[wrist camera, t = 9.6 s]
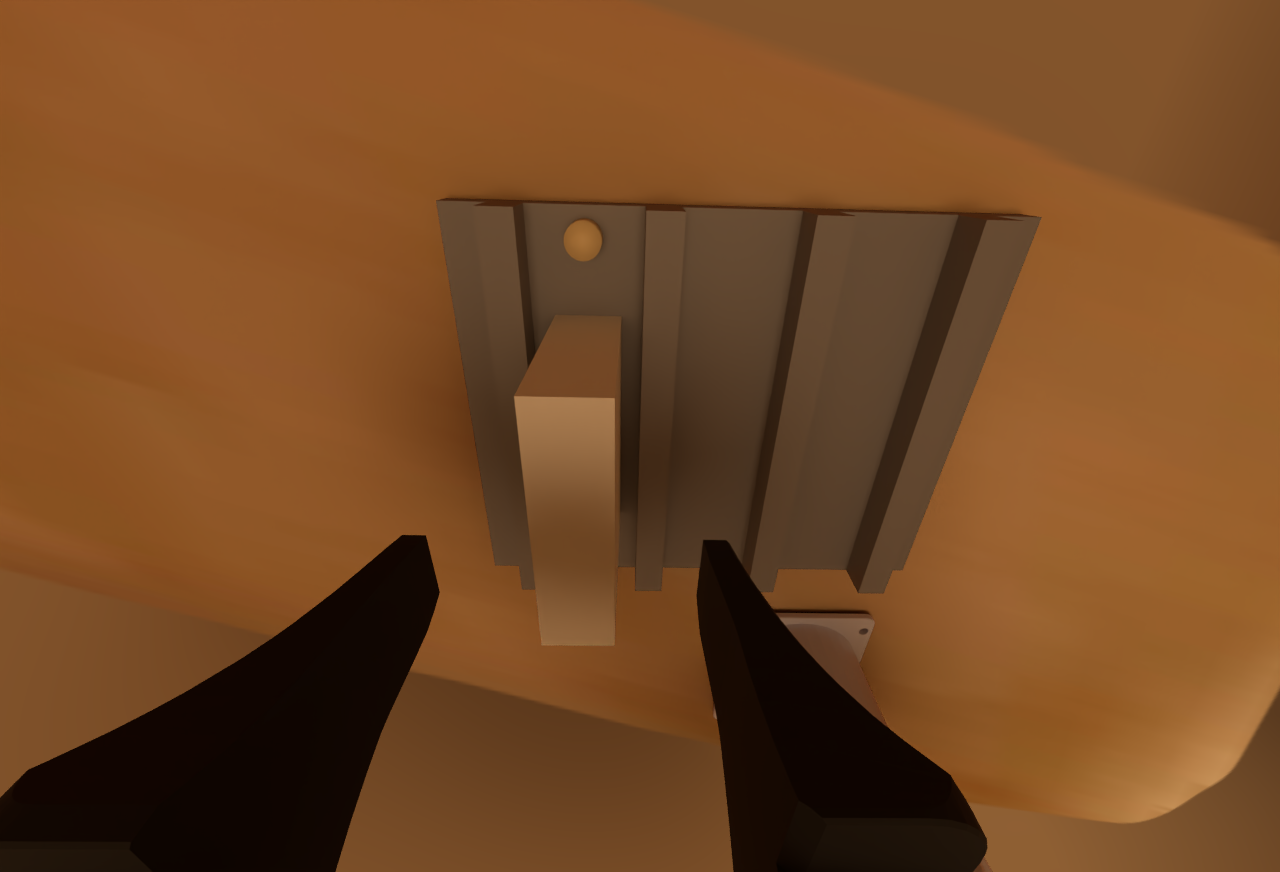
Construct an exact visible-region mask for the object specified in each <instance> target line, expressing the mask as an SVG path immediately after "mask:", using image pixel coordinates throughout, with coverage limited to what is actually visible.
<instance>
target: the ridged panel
mask: <svg viewBox="0 0 1280 872" xmlns="http://www.w3.org/2000/svg"><path fill="white" fill-rule="evenodd" d="M436 203H437V209H438V215H439V221H440V228H441V234H442V240H443V246H444V252H445V258H446V265H447V271H448V277H449V283H450V289H451V296H452V302H453V308H454V314H455V320H456V326H457V333H458V339H459V345H460V351H461V357H462V363H463V370H464V376H465V382H466V388H467V394H468V401H469V407H470V413H471V419H472V425H473V431H474V438H475V444H476V450H477V456H478V462H479V468H480V475H481V481H482V487H483V493H484V499H485V505H486V512H487V518H488V524H489V530H490V536H491V543H492V549H493V555H494V561H495V565H510V566H519V569H520V577H521V585H522V589H535V581H534V572H533V563H532V554H531V545H530V536H529V527H528V518H527V509H526V500H525V491H524V482H523V473H522V464H521V455H520V446H519V437H518V428H517V419H516V410H515V401H514V395H515V393H516V391H517V389H518V387H519V385H520V383H521V382H522V380H523V378H524V376H525V374H526V372H527V370H528V368H529V366H530V364H531V362H532V360H533V358H534V356H535V354H536V352H537V350H538V348H539V346H540V344H541V342H542V340H543V338H544V336H545V334H546V332H547V330H548V328H549V327H550V325H551V323H552V321H553V319H554V317H555V315H584V316H622V330H621V467H620V529H619V553H618V567H635V591H661V586H662V571H663V567H673V568H700V562H701V554H702V545H703V540H727V541H728V542H729V543H730V545H731V546H732V548H733V550H734V552H735V553H736V555H737V557H738V559H739V560H740V562H741V564H742V565H743V567H744V568H745V570H746V571H747V573H748V575H749V576H750V578H751V579H752V581H753V582H754V584H755V585H756V587H757V588H758V589H759V591H760V592H773V590H774V586H775V581H776V577H777V572H778V569H835V570H847V572H848V574H849V576H850V578H851V580H852V582H853V584H854V586H855V588H856V590H857V592H858V593H884V591H885V589H886V586H887V584H888V581H889V578H890V576H891V573H892V570H903V567H904V565H905V562H906V560H907V557H908V555H909V552H910V550H911V547H912V545H913V542H914V540H915V537H916V534H917V532H918V529H919V527H920V524H921V522H922V519H923V517H924V514H925V512H926V509H927V507H928V504H929V502H930V499H931V496H932V494H933V491H934V489H935V486H936V484H937V481H938V479H939V476H940V474H941V471H942V469H943V466H944V463H945V461H946V458H947V456H948V453H949V451H950V448H951V446H952V443H953V441H954V438H955V436H956V433H957V431H958V428H959V425H960V423H961V420H962V418H963V415H964V413H965V410H966V408H967V405H968V403H969V400H970V398H971V395H972V393H973V390H974V387H975V385H976V382H977V380H978V377H979V375H980V372H981V370H982V367H983V365H984V362H985V360H986V357H987V354H988V352H989V349H990V347H991V344H992V342H993V339H994V337H995V334H996V332H997V329H998V327H999V324H1000V322H1001V319H1002V316H1003V314H1004V311H1005V309H1006V306H1007V304H1008V301H1009V299H1010V296H1011V294H1012V291H1013V289H1014V286H1015V284H1016V281H1017V278H1018V276H1019V273H1020V271H1021V268H1022V266H1023V263H1024V261H1025V258H1026V256H1027V253H1028V251H1029V248H1030V245H1031V243H1032V240H1033V238H1034V235H1035V233H1036V230H1037V228H1038V225H1039V223H1040V220H1041V218H1042V217H1036V216H1029V215H1022V214H991V213H955V212H919V211H883V210H847V209H811V208H775V207H739V206H704V205H668V204H632V203H596V202H560V201H524V200H488V199H452V198H446V199H441V200H436Z"/></svg>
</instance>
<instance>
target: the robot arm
mask: <svg viewBox="0 0 1280 872" xmlns="http://www.w3.org/2000/svg"><path fill="white" fill-rule="evenodd" d="M439 593H440V592H439V587H438V583H437V579H436V575H435V571H434V567H433V563H432V559H431V555H430V551H429V546H428V542H427V538H426V536H425V535H402V536H401V537H399V538H398V539H397V540H396V541H394V542H393V543H392V544H391V545H390V546H388V547H387V548H386V549H385V550H384V551H382V552H381V553H380V554H379V555H378V556H377V557H375V558H374V559H373V560H372V561H371V562H370V563H368V564H367V565H366V566H365V567H364V568H362V569H361V570H360V571H359V572H358V573H356V574H355V575H354V576H353V577H352V578H350V579H349V580H348V581H347V582H346V583H344V584H343V585H342V586H341V587H340V588H338V589H337V590H336V591H335V592H333V593H332V594H331V595H330V596H328V597H327V598H326V599H324V600H323V601H322V602H320V603H319V604H318V605H317V606H315V607H314V608H313V609H311V610H310V611H309V612H307V613H306V614H305V615H303V616H302V617H301V618H300V619H298V620H297V621H296V622H294V623H293V624H292V625H290V626H289V627H287V628H286V629H285V630H283V631H282V632H280V633H279V634H278V635H276V636H275V637H273V638H272V639H270V640H269V641H267V642H266V643H264V644H263V645H261V646H260V647H258V648H257V649H255V650H254V651H252V652H251V653H249V654H248V655H246V656H245V657H243V658H242V659H240V660H238V661H237V662H235V663H234V664H232V665H230V666H228V667H227V668H225V669H223V670H222V671H220V672H219V673H217V674H215V675H213V676H212V677H210V678H208V679H207V680H205V681H203V682H202V683H200V684H198V685H197V686H195V687H193V688H192V689H190V690H188V691H186V692H185V693H183V694H181V695H179V696H177V697H176V698H174V699H172V700H170V701H168V702H167V703H165V704H163V705H161V706H159V707H157V708H155V709H153V710H152V711H150V712H148V713H146V714H144V715H142V716H140V717H138V718H136V719H134V720H132V721H130V722H128V723H126V724H125V725H122V726H120V727H119V728H117V729H115V730H113V731H111V732H108V733H106V734H105V735H102V736H100V737H98V738H96V739H94V740H92V741H89V742H87V743H85V744H83V745H81V746H79V747H77V748H75V749H73V750H70V751H68V752H66V753H64V754H62V755H60V756H57V757H55V758H53V759H51V760H49V761H47V762H45V763H42V764H40V765H38V766H36V767H34V768H31V769H29V770H28V771H26V772H25V774H23V776H21V778H20V779H19V780H17V781H16V782H15V783H14V784H13V785H12V787H10V788H9V790H7V791H6V792H5V793H4V795H3V796H1V798H0V872H335V871H336V868H337V864H338V861H339V858H340V855H341V851H342V848H343V845H344V841H345V838H346V835H347V832H348V828H349V825H350V822H351V819H352V816H353V813H354V810H355V807H356V804H357V800H358V798H359V795H360V792H361V789H362V786H363V783H364V780H365V777H366V773H367V771H368V768H369V765H370V762H371V760H372V757H373V754H374V751H375V748H376V745H377V743H378V740H379V737H380V734H381V732H382V730H383V727H384V725H385V723H386V720H387V718H388V715H389V713H390V711H391V709H392V707H393V705H394V703H395V700H396V698H397V696H398V694H399V692H400V689H401V687H402V685H403V683H404V681H405V679H406V677H407V675H408V672H409V670H410V668H411V666H412V664H413V662H414V660H415V657H416V655H417V653H418V651H419V649H420V646H421V644H422V642H423V640H424V638H425V635H426V633H427V631H428V628H429V625H430V622H431V619H432V616H433V613H434V610H435V606H436V603H437V600H438V596H439ZM697 606H698V618H699V629H700V636H701V641H702V646H703V651H704V656H705V661H706V666H707V671H708V676H709V681H710V686H711V691H712V696H713V701H714V706H713V716H714V718H715V719H717V721H718V728H719V734H720V741H721V750H722V759H723V768H724V777H725V786H726V797H727V806H728V816H729V826H730V836H731V848H732V859H733V870H734V872H992V870H991V868H990V867H989V865H988V863H987V861H986V860H985V858H984V856H985V854H986V850H987V838H986V837H985V835H984V833H983V831H982V829H981V827H980V825H979V823H978V821H977V819H976V817H975V815H974V813H973V811H972V810H971V808H970V806H969V804H968V803H967V801H966V799H965V798H964V796H963V795H962V793H961V791H960V790H959V788H958V787H957V785H956V784H955V782H954V780H953V779H952V777H951V775H950V774H948V773H947V772H946V771H944V770H943V769H942V768H940V767H939V766H938V765H936V764H935V763H933V762H932V761H931V760H929V759H928V758H927V757H925V756H924V755H923V754H921V753H920V752H919V751H917V750H916V749H915V748H913V747H912V746H911V745H909V744H908V743H906V742H905V741H904V740H903V739H901V738H900V737H899V736H897V735H896V734H895V733H894V732H893V731H891V730H890V729H889V728H888V727H887V725H886V723H885V720H884V718H883V716H882V714H881V711H880V709H879V707H878V705H877V702H876V700H875V698H874V696H873V693H872V691H871V689H870V687H869V684H868V682H867V680H866V678H865V675H864V673H863V671H862V669H861V666H860V661H861V659H862V656H863V654H864V651H865V648H866V646H867V643H868V641H869V638H870V635H871V633H872V630H873V628H874V625H875V622H874V620H873V618H872V616H871V615H869V614H838V613H775V612H774V610H773V609H772V608H771V606H770V605H769V603H768V602H767V601H766V599H765V598H764V596H763V595H762V594H761V592H760V591H759V589H758V588H757V587H756V585H755V584H754V582H753V581H752V579H751V578H750V576H749V575H748V573H747V571H746V570H745V568H744V567H743V565H742V564H741V562H740V560H739V559H738V557H737V555H736V553H735V552H734V550H733V548H732V546H731V545H730V543H729V542H728V541H727V540H703V545H702V554H701V562H700V571H699V579H698V588H697Z"/></svg>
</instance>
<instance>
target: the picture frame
mask: <svg viewBox="0 0 1280 872" xmlns="http://www.w3.org/2000/svg"><path fill="white" fill-rule="evenodd" d="M621 330H622V316H584V315H555V317H554V319H553V321H552V323H551V325H550V327H549V328H548V330H547V332H546V334H545V336H544V338H543V340H542V342H541V344H540V346H539V348H538V350H537V352H536V354H535V356H534V358H533V360H532V362H531V364H530V366H529V368H528V370H527V372H526V374H525V376H524V378H523V380H522V382H521V383H520V385H519V387H518V389H517V391H516V393H515V395H514V401H515V410H516V419H517V428H518V437H519V446H520V455H521V464H522V473H523V482H524V491H525V500H526V509H527V518H528V527H529V536H530V545H531V554H532V563H533V572H534V581H535V590H536V599H537V608H538V617H539V626H540V635H541V644H542V645H569V646H615V626H616V602H617V577H618V553H619V529H620V467H621Z"/></svg>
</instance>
